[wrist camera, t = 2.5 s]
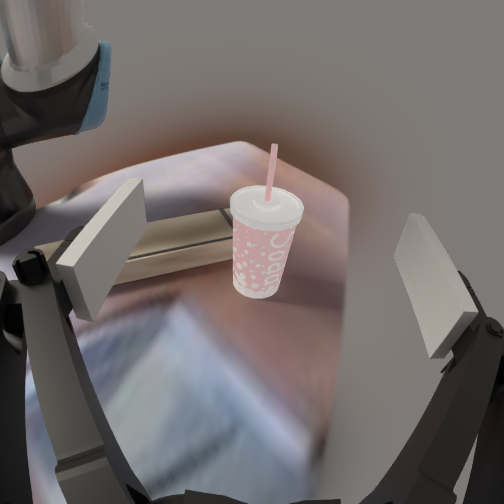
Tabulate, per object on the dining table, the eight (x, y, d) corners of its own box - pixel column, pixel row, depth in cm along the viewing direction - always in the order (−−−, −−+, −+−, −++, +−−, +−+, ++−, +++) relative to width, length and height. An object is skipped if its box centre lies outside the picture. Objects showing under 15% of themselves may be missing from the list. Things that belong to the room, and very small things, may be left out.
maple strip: (41, 264, 30) (34, 245, 28) (250, 221, 40) (252, 203, 38) (37, 301, 26) (28, 282, 24) (272, 249, 36) (276, 230, 34)
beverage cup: (233, 309, 28) (246, 160, 20) (219, 265, 33) (226, 132, 24) (296, 299, 30) (329, 160, 21) (274, 258, 35) (295, 133, 26)
